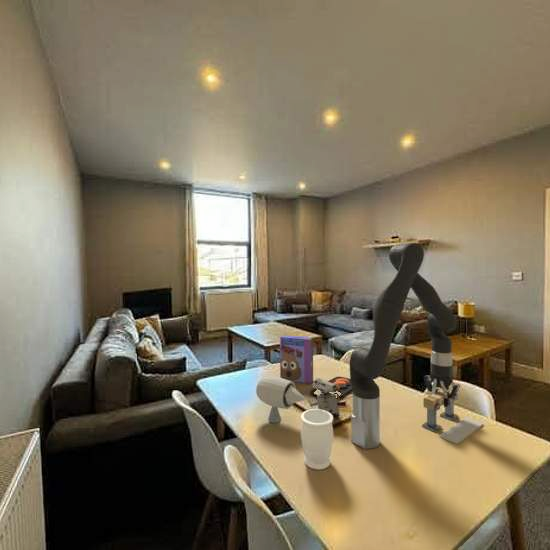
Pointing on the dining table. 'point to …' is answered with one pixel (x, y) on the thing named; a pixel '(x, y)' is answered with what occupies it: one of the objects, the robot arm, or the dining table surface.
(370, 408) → the robot arm
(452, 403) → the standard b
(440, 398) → the rail
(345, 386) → the sushi plate
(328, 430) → the jar
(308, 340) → the cereal box
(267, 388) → the jet engine
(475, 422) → the felt pad
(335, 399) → the figurine
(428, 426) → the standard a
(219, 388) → the dining table surface
